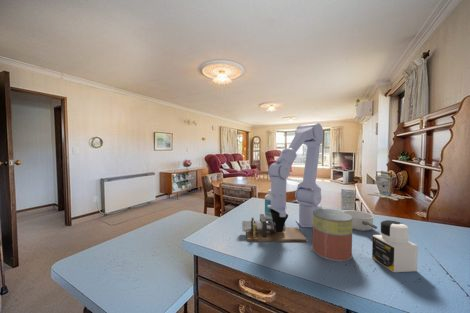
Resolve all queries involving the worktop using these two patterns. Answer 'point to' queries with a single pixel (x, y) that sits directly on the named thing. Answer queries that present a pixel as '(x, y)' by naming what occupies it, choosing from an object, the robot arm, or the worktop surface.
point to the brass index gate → (253, 229)
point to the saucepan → (361, 220)
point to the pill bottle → (267, 202)
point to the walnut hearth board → (279, 236)
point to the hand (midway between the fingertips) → (278, 229)
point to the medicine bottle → (395, 247)
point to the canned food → (332, 234)
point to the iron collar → (263, 225)
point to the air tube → (259, 226)
